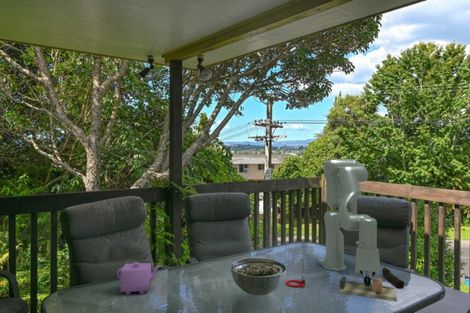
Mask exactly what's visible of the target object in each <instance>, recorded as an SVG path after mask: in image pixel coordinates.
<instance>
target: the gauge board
mask: <svg viewBox="0 0 470 313" xmlns="http://www.w3.org/2000/svg"><path fill="white" fill-rule="evenodd" d="M337 293H341V294H345V295H346V294H347V295H353V296H358V297H366V298H373V299H380V300H387V301H392V302H397V298H398V297H397V288H396V286H395V287H393V286H388V285H382V292H378V293H376V291H372V283H371V284H369V287H368V286H365V284H364V282H360V281H353V280H347V277H346V276H341V277H340V279H339V285H338V288H337Z"/></svg>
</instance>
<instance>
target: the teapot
mask: <svg viewBox="0 0 470 313" xmlns="http://www.w3.org/2000/svg"><path fill="white" fill-rule="evenodd" d="M161 267H163V264H161V265H159V264H157V265H156V266H154V268H153V271H152V263H150V262H147V263H146V262H142V263H140V262H138V261H137V262H133V263H125V264H124V265H123V266H122V267H120V268H119V269H118V270H117V271H116V275H117V277H118V278H119V281H118V284H119V286H120V293H125V295H131V294H132V292H133V293H134V292H138V293H139V294H140V295H143V294H146V292H149V290H150V286H151V283H152V281H153V280H154V279H155V278H156V275H157V272H158V269H160V268H161Z"/></svg>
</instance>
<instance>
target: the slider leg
mask: <svg viewBox="0 0 470 313" xmlns="http://www.w3.org/2000/svg"><path fill="white" fill-rule="evenodd" d="M371 284H372V291H376V293H378V292H382V286H383V278H377V277H372V280H371Z"/></svg>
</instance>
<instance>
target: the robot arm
mask: <svg viewBox="0 0 470 313" xmlns="http://www.w3.org/2000/svg"><path fill="white" fill-rule="evenodd" d="M323 175H324V178H325V182H326V184H325V185H326V203H327V206H328V207H331V208H338V209H331V210H327V211H326V212H325V213H324V216H323V220H324V224H325V225H324V226H325V257H324V258H322V257H317V262H318V263H322V268H324V269H326V270H329V271H333V272H334V271H336V272H339V271H340V272H341V271H345V270H346V269H347V265H346V264H344V259H345V258H344V257H345V256H344V254H345V253H344V252H345V246H344V245H345V243H344V242H345V240H344V239H345V237H344V233H343V232H342V230H341V229H342V228H343V230H345V231H349V232H350V231H351V232H352V231H353V232H355V231H356V232H357V231H358V240H357V241H355V245H357V247H356V251H355V252H356V253H355V268H354V271H355V272H357V273H360V274H361V276H362V277H363V283H364V284H365V286H368V287H369V284H372V278H373V277H374V276H375V275H381V271H380V270H381V268H380V266H381V264H380V252H379V249H378V248H377V246H378V244H377V241H378V239H377V236H378V233H377V232H378V222H377V220H376V219H375V217H371V216H370V215H368V214H358V211H357V210H358V207H357V206H358V203H357V202H358V201H357V199H359V197H361V196H362V189H361V187H360V183H364V182H367V181H368V179H369V172H368V169H367V168H366V166H365V165H363V163H361V162H359V161H358V160H357V159H353V158H331V159H327V160H325V162H324V164H323ZM340 228H341V229H340ZM367 272H368V274H367Z"/></svg>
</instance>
